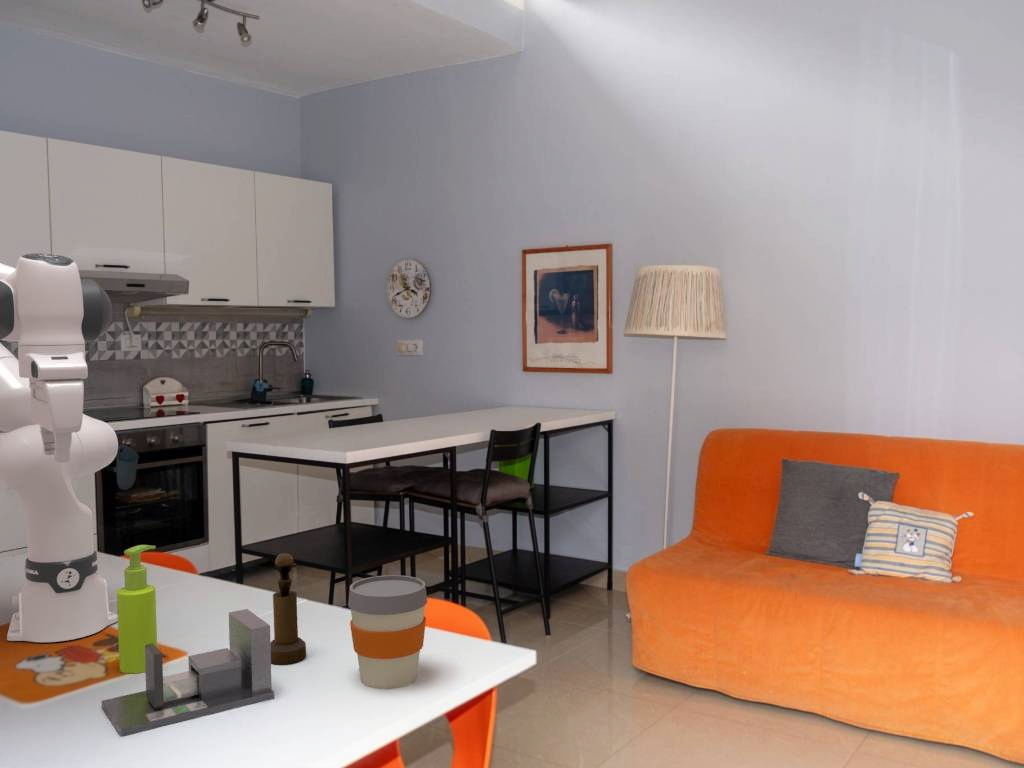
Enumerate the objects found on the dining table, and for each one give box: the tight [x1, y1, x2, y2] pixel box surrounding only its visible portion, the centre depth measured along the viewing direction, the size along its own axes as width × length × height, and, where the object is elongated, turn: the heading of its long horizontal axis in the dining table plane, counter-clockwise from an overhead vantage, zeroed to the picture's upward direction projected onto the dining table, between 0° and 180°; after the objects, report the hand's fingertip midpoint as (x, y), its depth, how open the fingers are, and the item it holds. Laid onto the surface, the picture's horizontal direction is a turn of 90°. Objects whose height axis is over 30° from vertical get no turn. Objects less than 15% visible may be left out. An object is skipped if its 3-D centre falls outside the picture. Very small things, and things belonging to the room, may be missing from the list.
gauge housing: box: [101, 608, 275, 737], centre depth 138 cm, size 12×22×11 cm, turn 126°
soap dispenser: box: [116, 544, 158, 674], centre depth 153 cm, size 6×7×20 cm
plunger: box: [144, 643, 199, 709], centre depth 137 cm, size 8×11×8 cm
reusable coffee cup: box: [347, 574, 428, 689], centre depth 148 cm, size 13×12×15 cm
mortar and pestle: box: [270, 552, 307, 666], centre depth 157 cm, size 7×6×18 cm
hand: (56, 458), depth 137 cm, fingers open, 8 cm apart
